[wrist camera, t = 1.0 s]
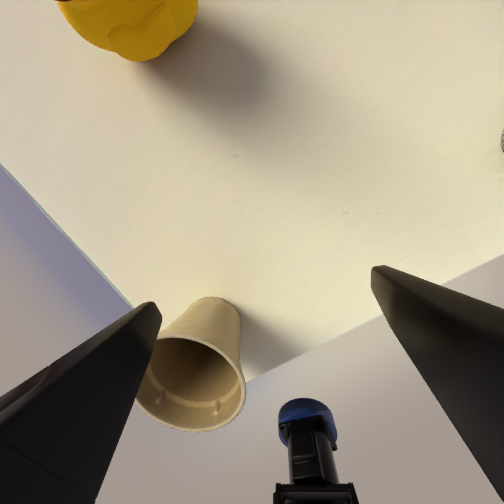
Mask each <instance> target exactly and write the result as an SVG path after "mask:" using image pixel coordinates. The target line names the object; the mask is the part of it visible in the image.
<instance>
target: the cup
mask: <svg viewBox="0 0 504 504" xmlns="http://www.w3.org/2000/svg"><path fill="white" fill-rule="evenodd" d="M502 149H503V152H504V131H503V134H502Z"/></svg>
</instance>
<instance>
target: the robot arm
mask: <svg viewBox="0 0 504 504" xmlns="http://www.w3.org/2000/svg"><path fill="white" fill-rule="evenodd" d="M371 289H372V291H373V293H374V295H375V297H376V299H377V301H378V304H379V306H380V308H381V310H382V312H383V314H384V316H385V318H386V320H387V322H388V324H389V325H390V327H391V329H392V330H393V332H394V334H395V335H396V337H397V338H398V340H399V342H400V343H401V345H402V346H403V348H404V349H405V351H406V352H407V354H408V355H409V357H410V358H411V360H412V362H413V363H414V365H415V366H416V368H417V369H418V371H419V372H420V374H421V376H422V377H423V379H424V380H425V382H426V383H427V385H428V386H429V388H430V389H431V391H432V393H433V394H434V396H435V397H436V399H437V400H438V402H439V403H440V405H441V406H442V408H443V409H444V411H445V413H446V414H447V416H448V417H449V419H450V420H451V422H452V423H453V425H454V427H455V428H456V430H457V431H458V433H459V434H460V436H461V437H462V439H463V441H464V442H465V444H466V445H467V447H468V448H469V450H470V451H471V453H472V455H473V456H474V458H475V459H476V461H477V462H478V464H479V465H480V467H481V468H482V470H483V472H484V473H485V475H486V476H487V478H488V479H489V481H490V482H491V484H492V485H493V487H494V488H495V490H496V492H497V493H498V495H499V496H500V498H501V499H502V501H503V502H504V309H502V308H500V307H497V306H494V305H491V304H489V303H486V302H483V301H481V300H478V299H475V298H472V297H470V296H467V295H464V294H462V293H459V292H456V291H454V290H451V289H448V288H445V287H443V286H440V285H437V284H435V283H432V282H429V281H426V280H424V279H421V278H418V277H416V276H413V275H410V274H407V273H405V272H402V271H399V270H396V269H394V268H391V267H388V266H386V265H381V266H375V267H373V268H372V270H371ZM161 323H162V315H161V313H160V311H159V309H158V308H157V306H156V304H155V303H154V302H145V303H142V304H141V305H139V306H138V307H136V308H135V309H133V310H132V311H130V312H129V313H127V314H126V315H124V316H123V317H121V318H120V319H118V320H117V321H115V322H114V323H112V324H111V325H110V326H108V327H106V328H105V329H103V330H102V331H100V332H99V333H97V334H96V335H94V336H93V337H91V338H90V339H88V340H87V341H85V342H84V343H82V344H81V345H79V346H78V347H76V348H74V349H73V350H71V351H70V352H69V353H67V354H65V355H64V356H62V357H61V358H60V359H58V360H56V361H55V362H53V363H52V364H51V365H50V366H47V367H46V368H44V369H43V370H41V371H40V372H38V373H37V374H35V375H34V376H32V377H31V378H29V379H27V380H26V381H24V382H23V383H21V384H20V385H18V386H17V387H15V388H14V389H12V390H10V391H9V392H7V393H6V394H4V395H3V396H1V397H0V504H95V499H96V498H97V496H98V493H99V490H100V488H101V485H102V483H103V480H104V478H105V475H106V472H107V470H108V467H109V465H110V462H111V459H112V457H113V454H114V452H115V449H116V447H117V444H118V442H119V439H120V436H121V434H122V431H123V429H124V426H125V424H126V421H127V418H128V416H129V413H130V411H131V408H132V406H133V403H134V400H135V398H136V395H137V393H138V390H139V388H140V385H141V382H142V380H143V377H144V375H145V372H146V370H147V367H148V364H149V362H150V359H151V357H152V354H153V351H154V347H155V344H156V340H157V337H158V333H159V330H160V326H161ZM278 427H279V430H280V432H281V434H282V436H283V438H284V440H285V442H286V444H287V446H288V458H289V459H288V460H289V476H290V484H281V483H276V492H274V493H273V504H359V502H358V499H357V495H356V492H355V489H354V485H353V483H348V484H339V479H338V475H337V470H336V466H335V461H334V457H333V453H332V451H336V450H337V445H336V442H335V440H334V438H333V436H332V433H331V431H330V429H329V427H328V424H327V422H326V420H325V418H324V416H323V415H315V416H310V417H305V418H300V419H296V420H291V421H286V422H281V423H279V426H278Z"/></svg>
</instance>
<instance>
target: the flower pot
mask: <svg viewBox="0 0 504 504" xmlns="http://www.w3.org/2000/svg"><path fill="white" fill-rule="evenodd" d="M240 326H241V322H240V317H239V314H238V312H237V311H236V309H235V308H234V307H233V306H232V305H230V304H228V303H227V302H225V301H224V300H222V299H221V298H217V297H205V298H202V299H199V300H197V301H196V302H194V303H193V304H192V305H191V306H190V307H189V308H188V309H187V310H186V311H185V312H184V313H183V314H182V315H181V316H180V317H179V318H178V319H177V320H175V321H174V322H173V323H172V324H171V325H170V326H169V327H168V328H167V329H165V330H163V331H161V332H159V333H158V337H157V340H156V344H155V347H154V351H153V354H152V357H151V359H150V362H149V364H148V367H147V370H146V372H145V375H144V377H143V380H142V382H141V385H140V388H139V390H138V393H137V395H136V398H135V400H134V401H135V402H136V403H137V405H138V406H139V407H140V408H141V409H142V410H143V411H144V412H145V413H146V414H147V415H149V416H150V417H151V418H153V419H154V420H156V421H158V422H160V423H161V424H163V425H165V426H168V427H171V428H173V429H177V430H181V431H186V432H206V431H211V430H215V429H218V428H221V427H223V426H225V425H227V424H228V423H230V422H231V421H233V420H234V419H235V418H236V417H237V416H238V414H239V413H240V411H241V410H242V408H243V406H244V404H245V399H246V383H245V379H244V376H243V373H242V368H241V364H240Z"/></svg>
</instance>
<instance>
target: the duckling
mask: <svg viewBox="0 0 504 504" xmlns="http://www.w3.org/2000/svg"><path fill="white" fill-rule="evenodd" d="M55 1H57V3H58V5H59V8H60V10H61V12H62V13H63V15H64V17H65V18H66V20H67V21H68V23H69V24H70V25H71V26H72V27H73V29H74V30H75V31H76V32H77V33H78V34H79V35H81V36H82V37H83V38H84V39H86V40H87V41H88V42H90V43H92V44H93V45H95V46H97V47H100V48H102V49H105V50H108V51H112V52H115V53H118V54H119V55H120V56H121V57H123V58H125V59H127V60H130V61H136V62H140V61H145V60H148V59H152V58H155V57H157V56H159V55H160V54H161V53H162V52H163V51H164V50H165V49H166V48H167V47H168V46H169V45H170V43H171V42H173V41H174V40H176V39H177V38H179V37H180V36H181V35H183V34H184V33H185V32H186V31H187V30H188V29H189V28H190V26H191V25H192V23H193V22H194V19H195V17H196V14H197V10H198V0H55Z"/></svg>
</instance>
